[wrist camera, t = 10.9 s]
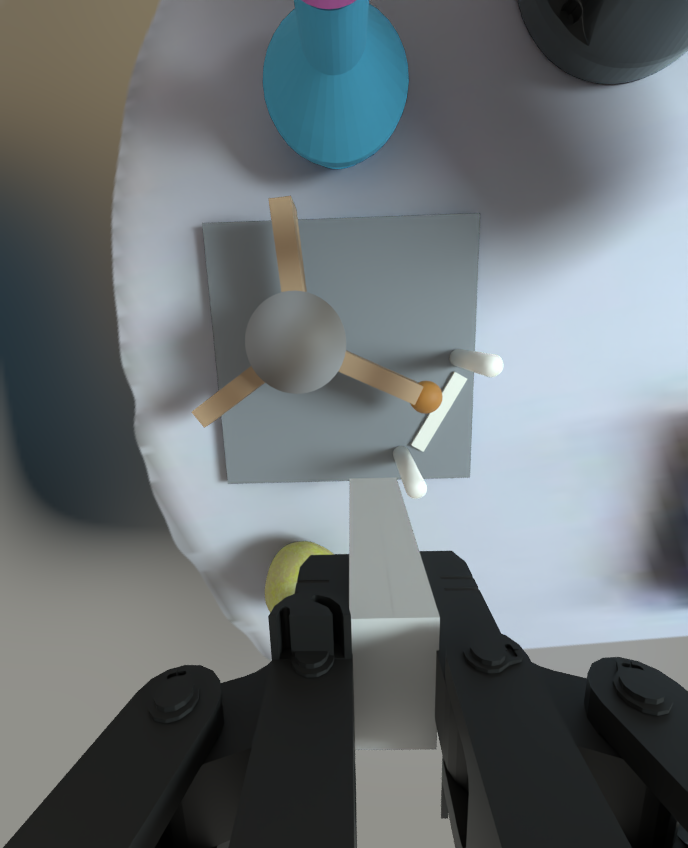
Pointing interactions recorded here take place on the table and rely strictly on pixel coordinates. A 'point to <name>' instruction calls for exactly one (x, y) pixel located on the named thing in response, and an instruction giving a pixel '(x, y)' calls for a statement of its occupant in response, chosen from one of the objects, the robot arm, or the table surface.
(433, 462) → the stand
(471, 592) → the robot arm
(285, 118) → the perfume bottle
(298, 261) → the capstan
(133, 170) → the table surface
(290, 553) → the fruit
